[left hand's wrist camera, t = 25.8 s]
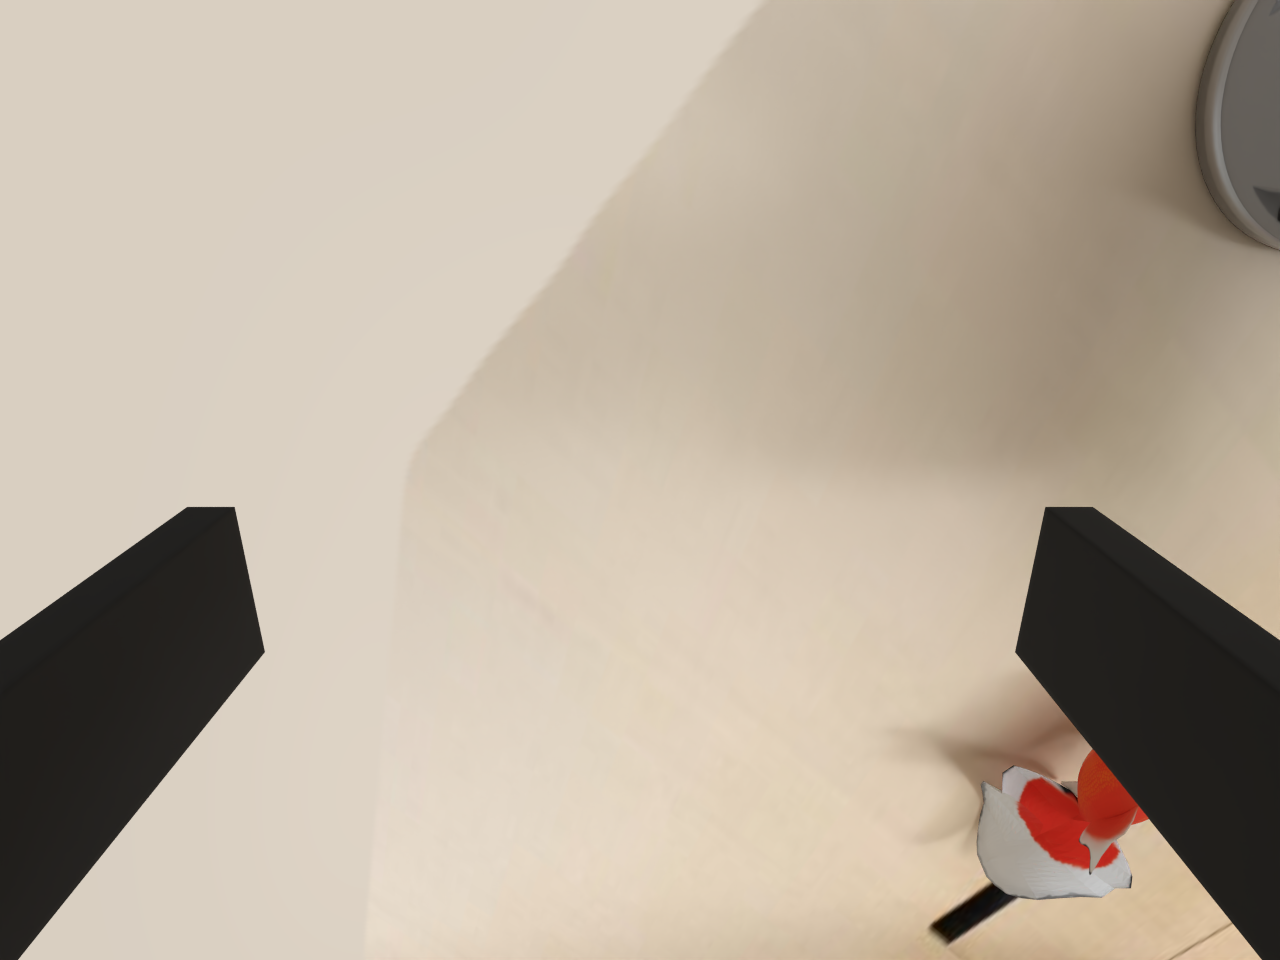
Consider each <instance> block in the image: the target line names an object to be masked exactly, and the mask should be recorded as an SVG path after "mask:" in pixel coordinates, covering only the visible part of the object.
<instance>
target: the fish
mask: <svg viewBox="0 0 1280 960" xmlns="http://www.w3.org/2000/svg"><path fill="white" fill-rule="evenodd" d="M1061 784H1062V785H1063V786H1065V787H1066V788H1065V787H1063V786H1062V785H1060V784H1058V783H1056V782H1054V781H1052V780H1050V779H1048V778H1046V777H1044V776H1043V775H1040V774H1038V773H1035V772H1033V771H1030V770H1027V769H1024V768H1021V767H1017V766H1014V765H1013V766H1012V767H1010V768H1009V769H1008V770H1006V771H1005V772H1003V779H1002V790H1000V789H998V788H996V787H994V786H992V785H990V784H989V783H987V782H984V781H983V782H982V784H981V788H982V792H983V800H984V804H983V808H982V811H981V814H980V820H979V826H978V835H977V855H978V858H979V860H980V863H981V865H982V867H983V870H984V872H985V875H986V877H987V878H988V879H989V880H990V881H991V882H992V883H993V884H994V885H996V886H997V887H998V888H1000V889H1001V890H1002V891H1004V892H1005V893H1006V894H1009V895H1013V896H1016V897H1020V898H1026V899H1036V900H1041V899H1055V898H1070V897H1100V898H1102V897H1103V896H1105V895H1106V894H1108V893H1109V892H1111V891H1112V890H1113V889H1115V888H1131V883H1132V874H1131V871H1130V868H1129V865H1128V862H1127V860H1126V858H1125V856H1124V854H1123V852H1122V850H1121V848H1120V846H1119V844H1118V842H1117V839H1118V838H1120V837H1121V836H1122V835H1124V834H1125V833H1126V832H1127V830H1128V828H1129V827H1130V825H1133V824H1136V823H1140V822H1143V821H1145V820H1147V819H1149V818H1148V817H1147V816H1146V814H1145V813H1144V812H1143V811H1142V809H1141V808H1140V807H1139V806H1138V804H1137V803H1136V802H1135V801H1134V799H1133V798H1132V797H1131V796H1130V795H1129V793H1128V792H1127V791H1126V790H1125V788H1124V787H1123V786H1122V785H1121V783H1120V782H1119V781H1118V780H1117V778H1116V777H1115V776H1114V775H1113V773H1112V772H1111V771H1110V770H1109V768H1108V767H1107V766H1106V765H1105V763H1104V762H1103V761H1102V760H1101V758H1100V757H1099V756H1098V755H1097V753H1096V752H1095V751H1094V750H1092V751H1091V752H1090V753H1089V754H1088V756H1087V757H1086V759H1085V760H1084V762H1083V764H1082V767H1081V769H1080V772H1079V776H1078V782H1070V781H1062V782H1061ZM1067 788H1068V789H1067ZM1075 795H1076V796H1077V797H1078V798H1077V797H1076V796H1075Z"/></svg>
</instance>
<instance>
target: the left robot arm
mask: <svg viewBox="0 0 1280 960" xmlns="http://www.w3.org/2000/svg"><path fill="white" fill-rule="evenodd" d="M1196 144H1197V152H1198V158H1199V163H1200V167H1201V170H1202V174H1203V177H1204V180H1205V182H1206V185H1207V187H1208V189H1209V191H1210V194H1211V195H1212V197H1213V199H1214V200H1215V202H1216V204H1217V205H1218V207H1219V208H1220V209H1221V211H1222V212H1223V213H1224V215H1225V216H1226V217H1227V218H1228V219H1229V220H1230V221H1231V222H1232V223H1233V224H1234V225H1235V226H1236V227H1237V228H1239V229H1240V230H1241V231H1242V232H1244V233H1245V234H1246V235H1248V236H1250V237H1251V238H1253V239H1255V240H1256V241H1258V242H1260V243H1263V244H1265V245H1267V246H1270V247H1272V248H1276V249H1279V250H1280V0H1235V1H1234V3H1233V4H1232V6H1231V8H1230V10H1229V11H1228V13H1227V15H1226V17H1225V19H1224V20H1223V22H1222V24H1221V26H1220V29H1219V31H1218V33H1217V35H1216V37H1215V39H1214V42H1213V44H1212V47H1211V50H1210V52H1209V55H1208V58H1207V61H1206V64H1205V68H1204V71H1203V75H1202V78H1201V83H1200V88H1199V93H1198V99H1197V109H1196ZM264 652H265V651H264V646H263V641H262V636H261V632H260V627H259V622H258V617H257V612H256V608H255V603H254V598H253V593H252V589H251V584H250V579H249V574H248V569H247V565H246V560H245V555H244V550H243V545H242V540H241V536H240V531H239V526H238V521H237V516H236V512H235V507H187V508H185V509H184V510H182V511H181V512H180V513H178V514H177V515H176V516H174V517H173V518H171V519H170V520H168V521H167V522H166V523H164V524H163V525H161V526H160V527H159V528H157V529H156V530H154V531H153V532H152V533H150V534H149V535H147V536H146V537H145V538H143V539H142V540H140V541H139V542H138V543H136V544H135V545H133V546H132V547H131V548H129V549H128V550H126V551H125V552H124V553H122V554H121V555H119V556H118V557H116V558H115V559H114V560H112V561H111V562H109V563H108V564H107V565H105V566H104V567H103V568H101V569H100V570H98V571H97V572H95V573H94V574H93V575H91V576H90V577H88V578H87V579H86V580H84V581H83V582H81V583H80V584H79V585H77V586H76V587H74V588H73V589H72V590H70V591H69V592H67V593H66V594H65V595H63V596H62V597H60V598H59V599H58V600H56V601H55V602H53V603H52V604H51V605H49V606H48V607H46V608H45V609H44V610H42V611H41V612H39V613H38V614H37V615H35V616H34V617H32V618H31V619H30V620H28V621H27V622H25V623H24V624H22V625H21V626H20V627H18V628H17V629H15V630H14V631H13V632H11V633H10V634H9V635H7V636H6V637H4V638H3V639H1V640H0V960H18V959H19V958H20V957H21V955H22V954H23V953H24V952H25V950H26V949H27V948H28V947H29V945H30V944H31V943H32V942H33V940H34V939H35V938H36V937H37V935H38V934H39V933H40V932H41V930H42V929H43V928H44V927H45V925H46V924H47V923H48V922H49V920H50V919H51V918H52V917H53V915H54V914H55V913H56V912H57V910H58V909H59V908H60V907H61V905H62V904H63V903H64V902H65V900H66V899H67V898H68V897H69V895H70V894H71V893H72V892H73V890H74V889H75V888H76V887H77V885H78V884H79V883H80V882H81V880H82V879H83V878H84V877H85V876H86V874H87V873H88V872H89V871H90V869H91V868H92V867H93V866H94V864H95V863H96V862H97V861H98V859H99V858H100V857H101V856H102V854H103V853H104V852H105V851H106V849H107V848H108V847H109V846H110V844H111V843H112V842H113V841H114V839H115V838H116V837H117V836H118V834H119V833H120V832H121V831H122V829H123V828H124V827H125V826H126V824H127V823H128V822H129V821H130V819H131V818H132V817H133V816H134V814H135V813H136V812H137V811H138V809H139V808H140V807H141V806H142V804H143V803H144V802H145V801H146V799H147V798H148V797H149V796H150V795H151V793H152V792H153V791H154V790H155V788H156V787H157V786H158V785H159V783H160V782H161V781H162V779H163V778H164V777H165V776H166V775H167V773H168V772H169V771H170V770H171V768H172V767H173V766H174V765H175V763H176V762H177V761H178V760H179V758H180V757H181V756H182V755H183V753H184V752H185V751H186V750H187V748H188V747H189V746H190V745H191V743H192V742H193V741H194V740H195V738H196V737H197V736H198V735H199V733H200V732H201V731H202V730H203V728H204V727H205V726H206V725H207V723H208V722H209V721H210V720H211V718H212V717H213V716H214V715H215V713H216V712H217V711H218V710H219V709H220V707H221V706H222V705H223V703H224V702H225V701H226V700H227V699H228V697H229V696H230V695H231V694H232V692H233V691H234V690H235V689H236V687H237V686H238V685H239V684H240V682H241V681H242V680H243V679H244V677H245V676H246V675H247V674H248V672H249V671H250V670H251V669H252V667H253V666H254V665H255V664H256V662H257V661H258V660H259V659H260V657H261V656H262V655H263V654H264ZM1015 652H1016V654H1017V655H1018V656H1019V657H1020V659H1021V660H1022V661H1023V662H1024V664H1025V665H1026V666H1027V667H1028V669H1029V670H1030V671H1031V672H1032V674H1033V675H1034V676H1035V677H1036V679H1037V680H1038V681H1039V682H1040V684H1041V685H1042V686H1043V687H1044V689H1045V690H1046V691H1047V692H1048V694H1049V695H1050V696H1051V697H1052V699H1053V700H1054V701H1055V702H1056V704H1057V705H1058V706H1059V707H1060V709H1061V710H1062V711H1063V712H1064V713H1065V715H1066V716H1067V717H1068V718H1069V720H1070V721H1071V722H1072V723H1073V725H1074V726H1075V727H1076V728H1077V730H1078V731H1079V732H1080V733H1081V735H1082V736H1083V737H1084V738H1085V740H1086V741H1087V742H1088V743H1089V745H1090V746H1091V747H1092V748H1093V750H1094V751H1095V752H1096V753H1097V755H1098V756H1099V757H1100V758H1101V760H1102V761H1103V762H1104V763H1105V765H1106V766H1107V767H1108V768H1109V770H1110V771H1111V772H1112V773H1113V775H1114V776H1115V777H1116V778H1117V780H1118V781H1119V782H1120V783H1121V785H1122V786H1123V787H1124V788H1125V790H1126V791H1127V792H1128V793H1129V795H1130V796H1131V797H1132V798H1133V799H1134V801H1135V802H1136V803H1137V804H1138V806H1139V807H1140V808H1141V809H1142V811H1143V812H1144V813H1145V814H1146V816H1147V817H1148V818H1149V819H1150V821H1151V822H1152V823H1153V824H1154V826H1155V827H1156V828H1157V829H1158V831H1159V832H1160V833H1161V834H1162V836H1163V837H1164V838H1165V839H1166V841H1167V842H1168V843H1169V844H1170V846H1171V847H1172V848H1173V849H1174V851H1175V852H1176V853H1177V854H1178V856H1179V857H1180V858H1181V859H1182V861H1183V862H1184V863H1185V864H1186V866H1187V867H1188V868H1189V869H1190V871H1191V872H1192V873H1193V874H1194V876H1195V877H1196V878H1197V879H1198V881H1199V882H1200V883H1201V884H1202V886H1203V887H1204V888H1205V889H1206V890H1207V892H1208V893H1209V894H1210V895H1211V897H1212V898H1213V899H1214V900H1215V902H1216V903H1217V904H1218V905H1219V907H1220V908H1221V909H1222V910H1223V912H1224V913H1225V914H1226V915H1227V917H1228V918H1229V919H1230V920H1231V922H1232V923H1233V924H1234V925H1235V927H1236V928H1237V929H1238V930H1239V932H1240V933H1241V934H1242V935H1243V937H1244V938H1245V939H1246V940H1247V942H1248V943H1249V944H1250V945H1251V947H1252V948H1253V949H1254V950H1255V952H1256V953H1257V954H1258V955H1259V957H1260V958H1261V959H1262V960H1280V640H1279V639H1277V638H1276V637H1274V636H1273V635H1272V634H1270V633H1269V632H1267V631H1266V630H1265V629H1263V628H1262V627H1260V626H1259V625H1258V624H1256V623H1255V622H1253V621H1252V620H1250V619H1249V618H1248V617H1246V616H1245V615H1243V614H1242V613H1241V612H1239V611H1238V610H1236V609H1235V608H1234V607H1232V606H1231V605H1229V604H1228V603H1227V602H1225V601H1224V600H1222V599H1221V598H1220V597H1218V596H1217V595H1215V594H1214V593H1213V592H1211V591H1210V590H1208V589H1207V588H1206V587H1204V586H1203V585H1201V584H1200V583H1199V582H1197V581H1196V580H1194V579H1193V578H1192V577H1190V576H1189V575H1187V574H1186V573H1185V572H1183V571H1182V570H1180V569H1179V568H1178V567H1176V566H1175V565H1173V564H1172V563H1171V562H1169V561H1168V560H1166V559H1165V558H1164V557H1162V556H1161V555H1159V554H1158V553H1156V552H1155V551H1154V550H1152V549H1151V548H1149V547H1148V546H1147V545H1145V544H1144V543H1142V542H1141V541H1140V540H1138V539H1137V538H1135V537H1134V536H1133V535H1131V534H1130V533H1128V532H1127V531H1126V530H1124V529H1123V528H1121V527H1120V526H1119V525H1117V524H1116V523H1114V522H1113V521H1112V520H1110V519H1109V518H1107V517H1106V516H1105V515H1103V514H1102V513H1100V512H1099V511H1098V510H1096V509H1095V508H1093V507H1045V512H1044V516H1043V521H1042V526H1041V531H1040V536H1039V540H1038V545H1037V550H1036V555H1035V560H1034V564H1033V569H1032V574H1031V579H1030V584H1029V588H1028V593H1027V598H1026V603H1025V608H1024V612H1023V617H1022V622H1021V627H1020V632H1019V636H1018V641H1017V646H1016V651H1015Z"/></svg>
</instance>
